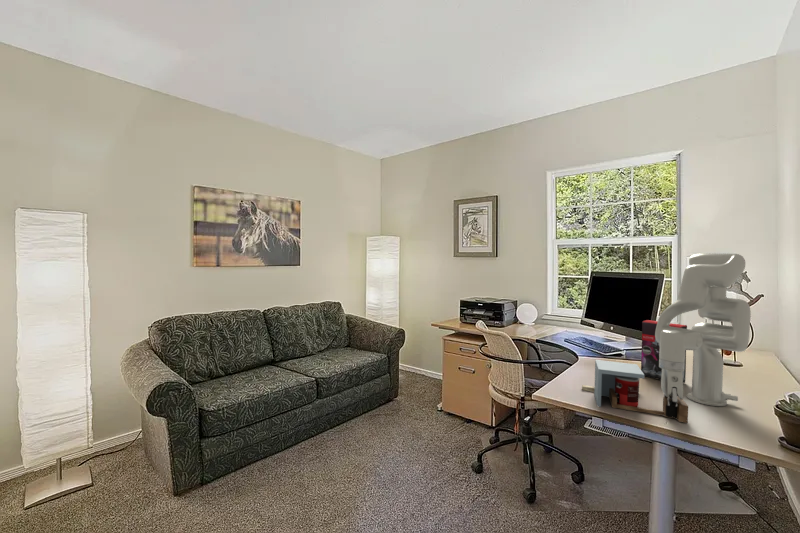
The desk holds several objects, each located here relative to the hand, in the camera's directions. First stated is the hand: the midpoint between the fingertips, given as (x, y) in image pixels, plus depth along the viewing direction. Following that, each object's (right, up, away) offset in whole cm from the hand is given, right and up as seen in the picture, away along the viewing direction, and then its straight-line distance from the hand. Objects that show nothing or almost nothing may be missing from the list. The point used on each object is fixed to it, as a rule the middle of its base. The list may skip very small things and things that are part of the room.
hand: (669, 414), depth 136 cm
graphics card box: (+28, -1, +43) cm, 51 cm away
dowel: (-13, 0, +24) cm, 28 cm away
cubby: (-12, 0, +12) cm, 17 cm away
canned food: (-10, -1, +10) cm, 14 cm away
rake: (-5, 0, +6) cm, 8 cm away
